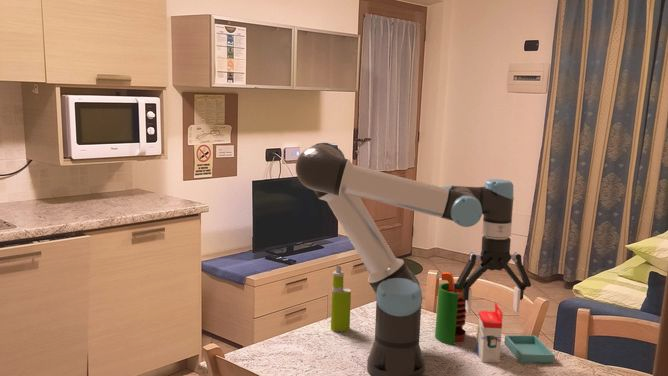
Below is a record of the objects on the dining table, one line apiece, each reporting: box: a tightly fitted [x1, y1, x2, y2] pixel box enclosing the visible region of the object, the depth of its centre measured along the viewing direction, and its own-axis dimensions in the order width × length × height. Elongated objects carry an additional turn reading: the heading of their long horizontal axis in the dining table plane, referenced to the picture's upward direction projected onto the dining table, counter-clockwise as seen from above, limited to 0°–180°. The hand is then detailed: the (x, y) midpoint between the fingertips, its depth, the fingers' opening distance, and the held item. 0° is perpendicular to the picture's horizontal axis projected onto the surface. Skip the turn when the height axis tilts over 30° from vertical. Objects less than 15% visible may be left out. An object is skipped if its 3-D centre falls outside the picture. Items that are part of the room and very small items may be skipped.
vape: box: [330, 265, 352, 332], centre depth 177 cm, size 4×6×20 cm, turn 92°
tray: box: [504, 334, 555, 365], centre depth 165 cm, size 9×13×2 cm
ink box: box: [475, 301, 504, 364], centre depth 162 cm, size 8×5×15 cm, turn 178°
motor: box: [434, 271, 467, 346], centre depth 173 cm, size 10×9×20 cm
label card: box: [471, 331, 478, 342], centre depth 175 cm, size 5×6×1 cm
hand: (491, 310), depth 161 cm, fingers open, 13 cm apart
